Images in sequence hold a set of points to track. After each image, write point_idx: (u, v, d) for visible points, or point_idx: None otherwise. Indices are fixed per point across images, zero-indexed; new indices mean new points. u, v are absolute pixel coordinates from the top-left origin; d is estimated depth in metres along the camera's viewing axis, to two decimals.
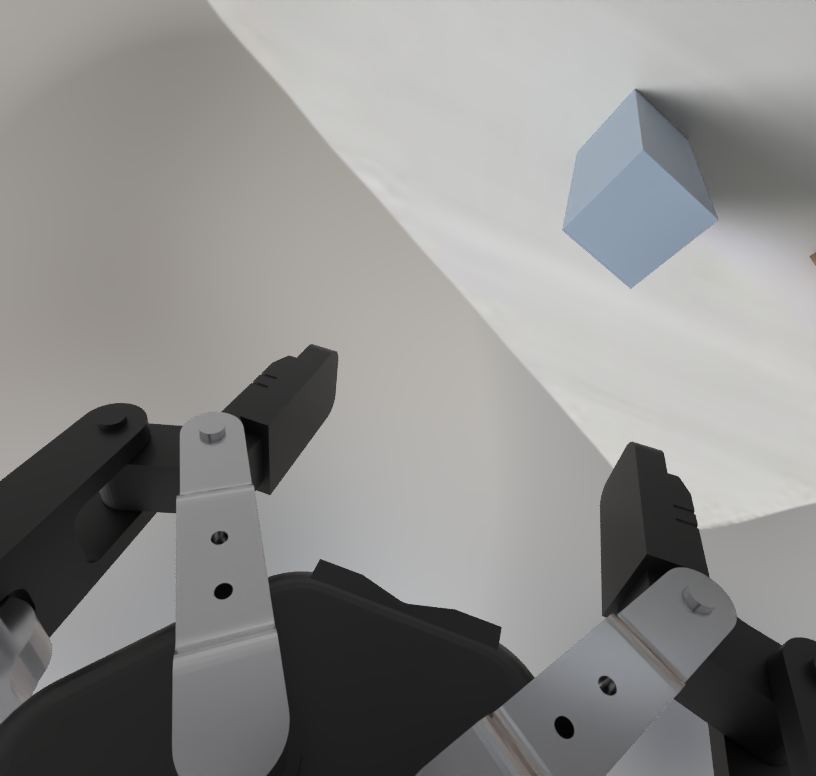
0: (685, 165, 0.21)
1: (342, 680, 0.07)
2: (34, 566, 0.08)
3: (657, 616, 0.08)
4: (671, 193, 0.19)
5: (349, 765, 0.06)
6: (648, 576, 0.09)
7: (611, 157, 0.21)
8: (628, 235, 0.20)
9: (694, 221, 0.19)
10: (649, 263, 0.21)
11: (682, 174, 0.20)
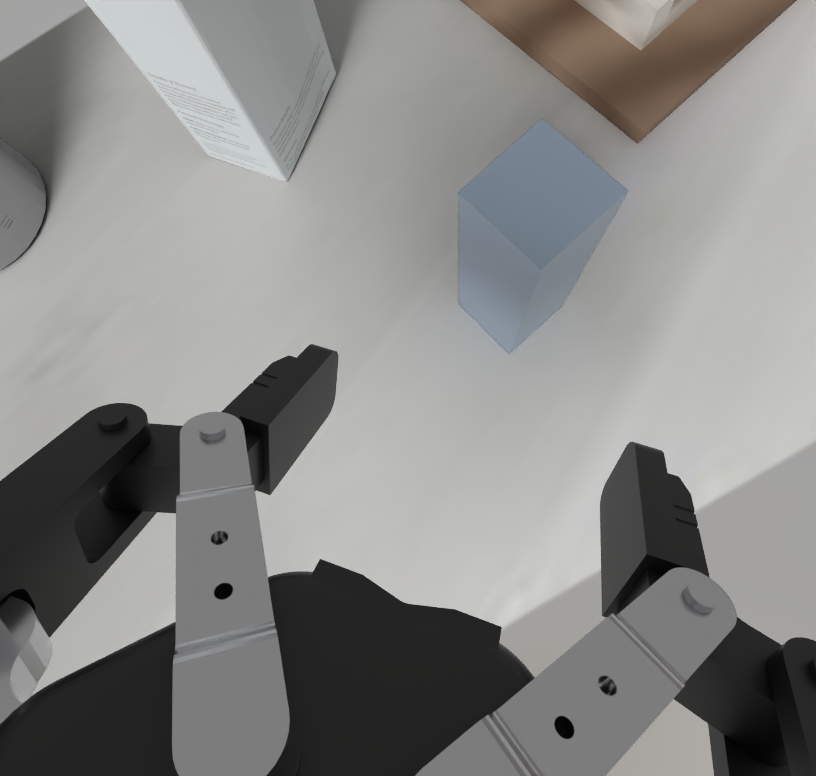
0: None
1: (343, 680, 0.07)
2: (34, 566, 0.08)
3: (657, 616, 0.08)
4: (507, 162, 0.17)
5: (349, 765, 0.06)
6: (648, 576, 0.09)
7: (482, 259, 0.20)
8: (553, 198, 0.17)
9: (542, 138, 0.17)
10: (592, 174, 0.17)
11: None
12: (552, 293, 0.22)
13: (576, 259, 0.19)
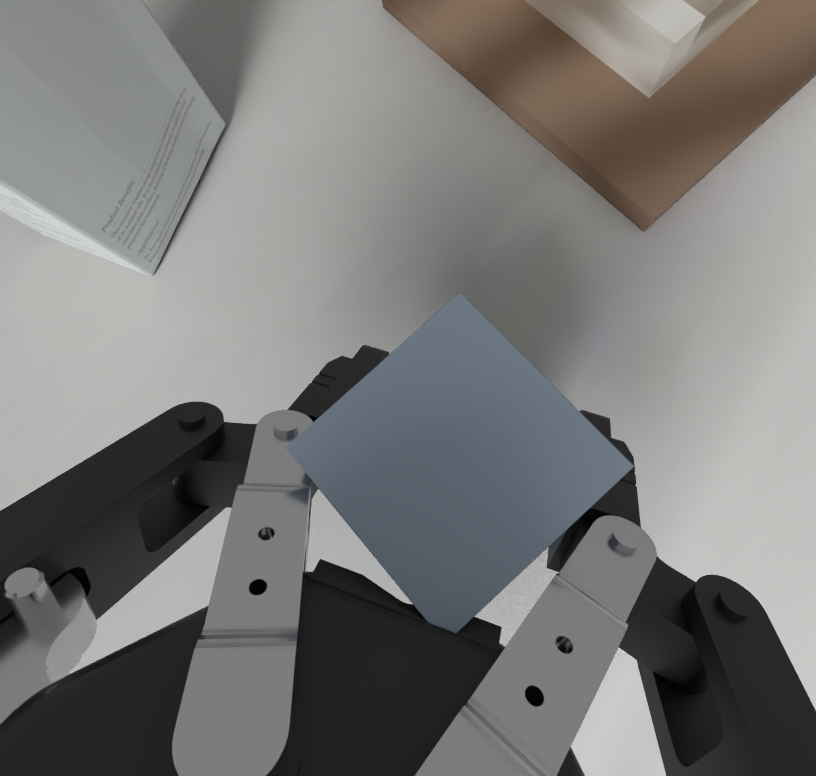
0: None
1: (342, 680, 0.07)
2: (95, 548, 0.08)
3: (581, 555, 0.09)
4: (387, 386, 0.08)
5: (349, 766, 0.06)
6: (582, 525, 0.10)
7: None
8: (477, 475, 0.08)
9: (458, 336, 0.08)
10: (559, 423, 0.08)
11: None
12: None
13: None
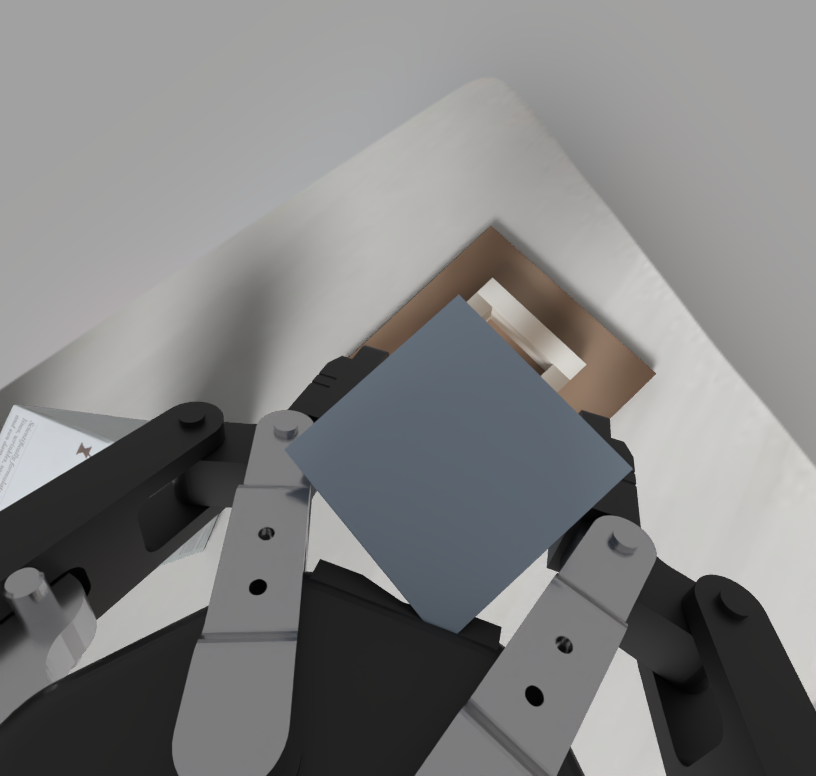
0: None
1: (342, 681, 0.07)
2: (95, 548, 0.08)
3: (581, 555, 0.09)
4: (386, 388, 0.08)
5: (350, 765, 0.06)
6: (582, 525, 0.10)
7: None
8: (475, 476, 0.08)
9: (457, 339, 0.08)
10: (557, 425, 0.08)
11: None
12: None
13: None
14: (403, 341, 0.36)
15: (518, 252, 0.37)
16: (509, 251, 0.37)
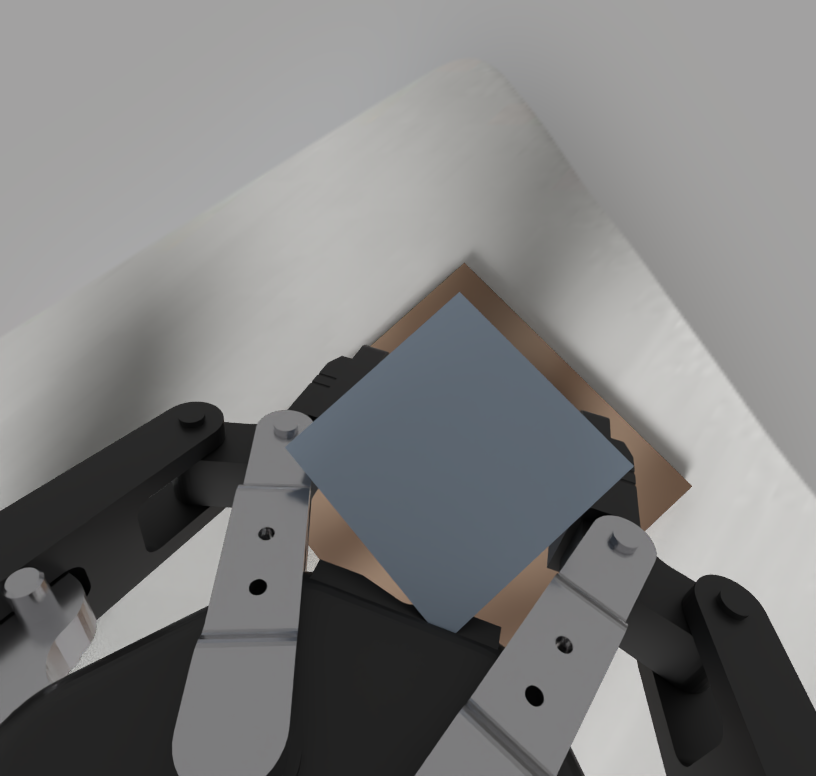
0: None
1: (343, 681, 0.07)
2: (95, 548, 0.08)
3: (582, 555, 0.09)
4: (387, 386, 0.08)
5: (349, 765, 0.06)
6: (582, 525, 0.10)
7: None
8: (476, 474, 0.08)
9: (457, 336, 0.08)
10: (558, 422, 0.08)
11: None
12: None
13: None
14: None
15: (501, 301, 0.26)
16: (488, 300, 0.27)
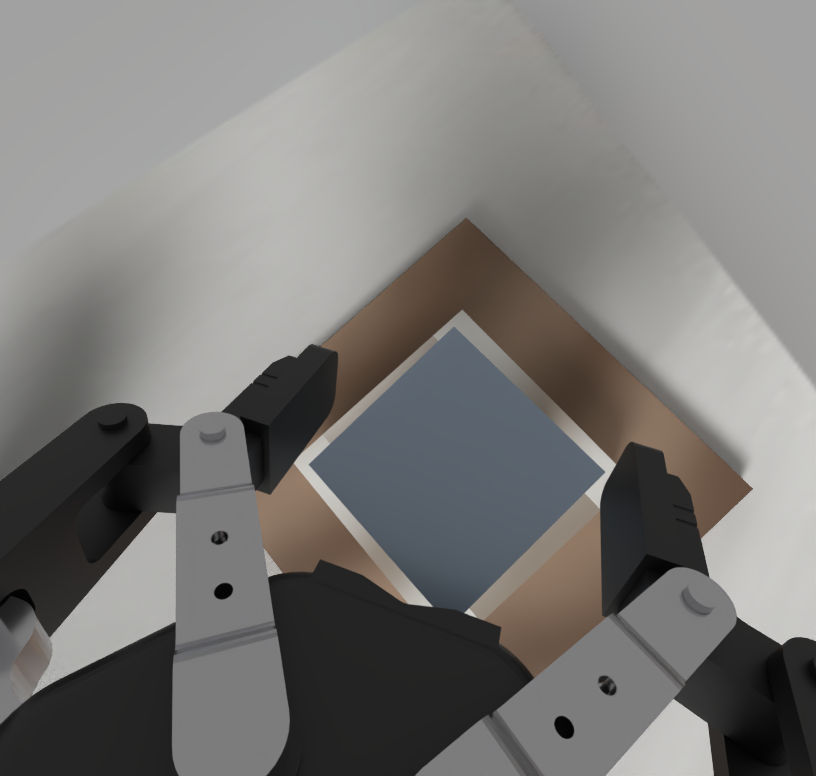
0: None
1: (342, 681, 0.07)
2: (34, 566, 0.08)
3: (657, 616, 0.08)
4: (394, 409, 0.10)
5: (349, 765, 0.06)
6: (648, 576, 0.09)
7: None
8: (472, 483, 0.09)
9: (454, 364, 0.10)
10: (541, 437, 0.09)
11: None
12: None
13: None
14: None
15: (511, 263, 0.22)
16: (495, 262, 0.22)
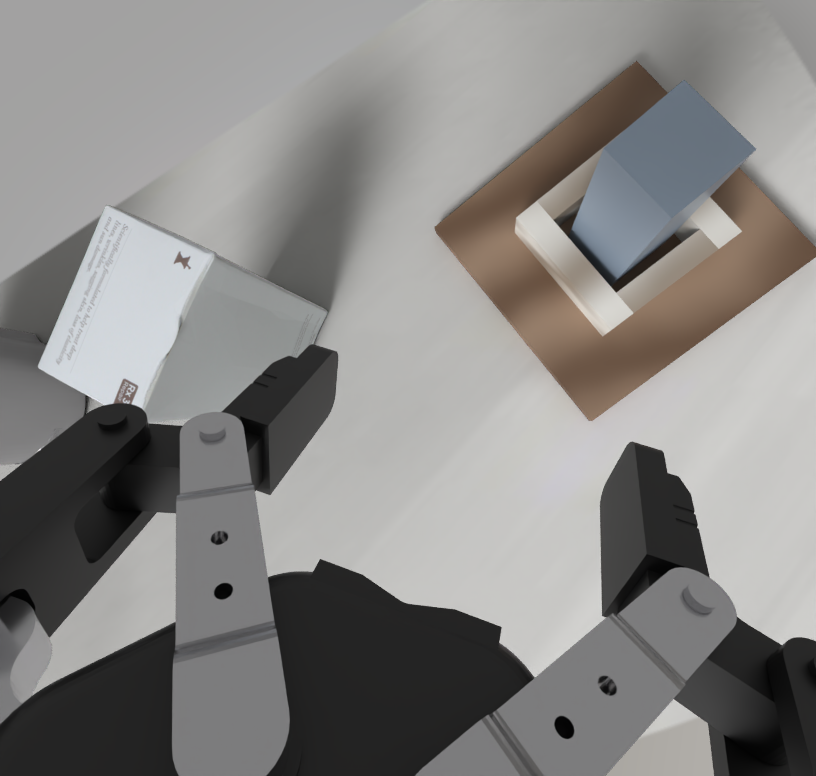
0: None
1: (342, 680, 0.07)
2: (34, 566, 0.08)
3: (657, 616, 0.08)
4: (649, 121, 0.20)
5: (349, 765, 0.06)
6: (648, 576, 0.09)
7: (610, 204, 0.23)
8: (687, 155, 0.20)
9: (682, 99, 0.20)
10: (725, 133, 0.20)
11: None
12: (665, 234, 0.25)
13: (695, 206, 0.22)
14: (515, 198, 0.32)
15: None
16: (655, 94, 0.31)
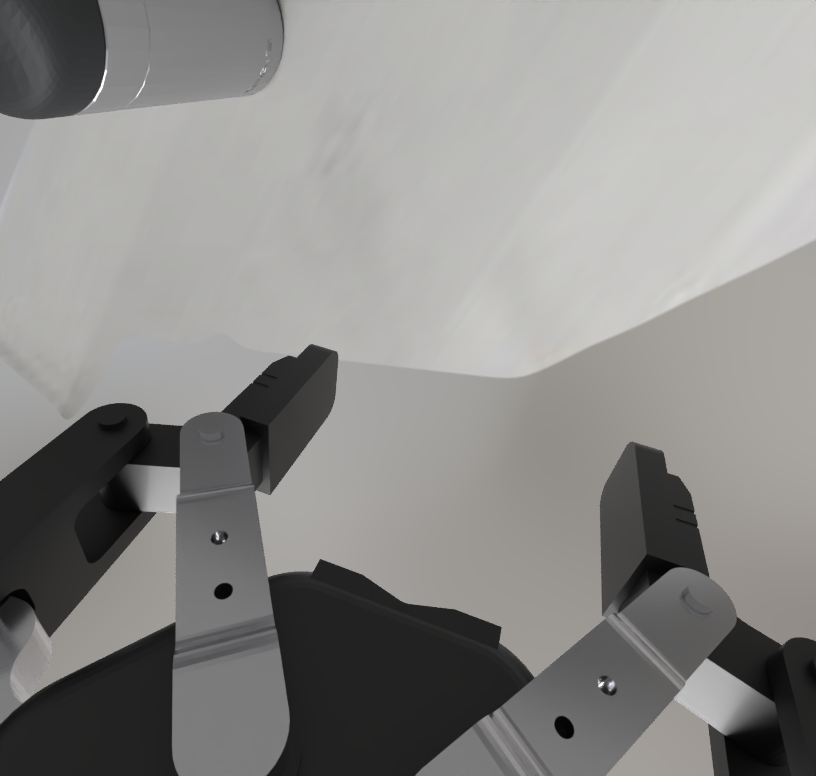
0: None
1: (342, 680, 0.07)
2: (34, 566, 0.08)
3: (657, 616, 0.08)
4: None
5: (349, 765, 0.06)
6: (648, 576, 0.09)
7: None
8: None
9: None
10: None
11: None
12: None
13: None
14: None
15: None
16: None
